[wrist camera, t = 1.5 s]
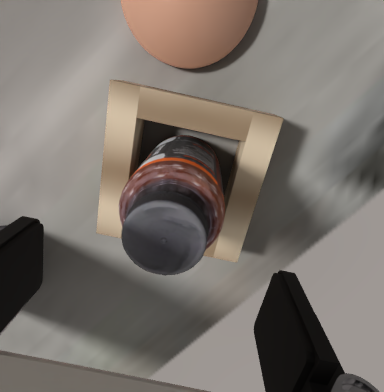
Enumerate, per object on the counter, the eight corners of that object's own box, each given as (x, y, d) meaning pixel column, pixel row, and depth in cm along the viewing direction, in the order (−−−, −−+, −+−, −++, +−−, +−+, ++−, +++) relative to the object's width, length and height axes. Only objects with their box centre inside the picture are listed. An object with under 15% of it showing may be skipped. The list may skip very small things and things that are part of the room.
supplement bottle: (146, 132, 22) (90, 174, 12) (221, 134, 22) (234, 178, 11) (150, 201, 24) (105, 290, 14) (218, 203, 24) (226, 295, 13)
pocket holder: (123, 80, 21) (110, 79, 18) (273, 114, 21) (283, 118, 18) (108, 216, 25) (96, 233, 22) (233, 243, 25) (237, 262, 23)
